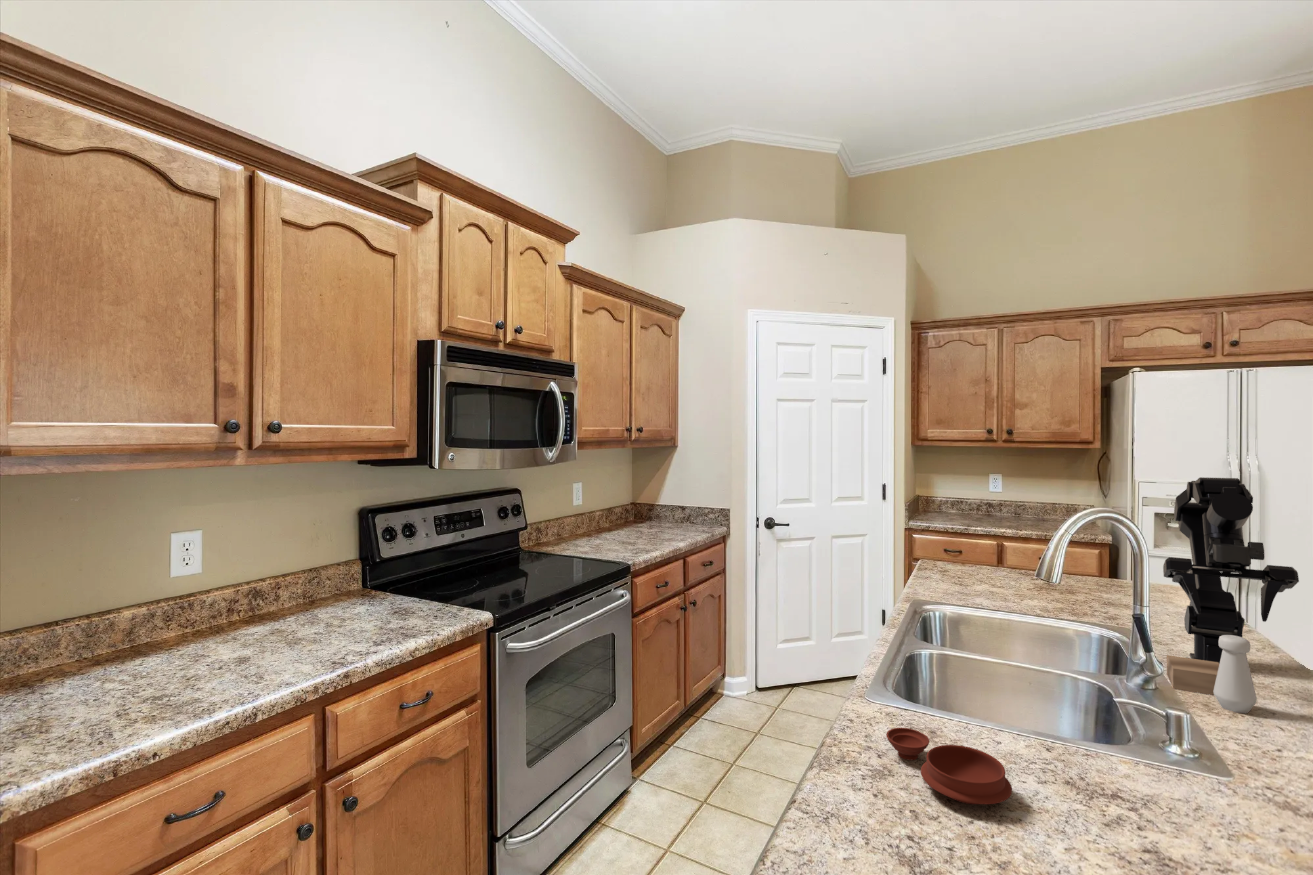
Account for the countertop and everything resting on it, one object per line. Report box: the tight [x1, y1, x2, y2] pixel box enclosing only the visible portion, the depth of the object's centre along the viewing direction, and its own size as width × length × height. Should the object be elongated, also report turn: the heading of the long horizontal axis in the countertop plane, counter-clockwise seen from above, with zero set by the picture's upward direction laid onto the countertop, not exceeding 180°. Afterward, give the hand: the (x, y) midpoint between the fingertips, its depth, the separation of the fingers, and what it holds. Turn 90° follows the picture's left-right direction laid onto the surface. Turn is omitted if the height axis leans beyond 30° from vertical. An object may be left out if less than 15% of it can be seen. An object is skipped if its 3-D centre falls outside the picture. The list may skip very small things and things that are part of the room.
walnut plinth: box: [1166, 654, 1219, 696], centre depth 123 cm, size 8×8×4 cm
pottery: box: [886, 727, 1013, 806], centre depth 93 cm, size 12×20×4 cm, turn 22°
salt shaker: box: [1213, 635, 1258, 714], centre depth 113 cm, size 6×6×13 cm
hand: (1231, 617), depth 117 cm, fingers open, 9 cm apart
